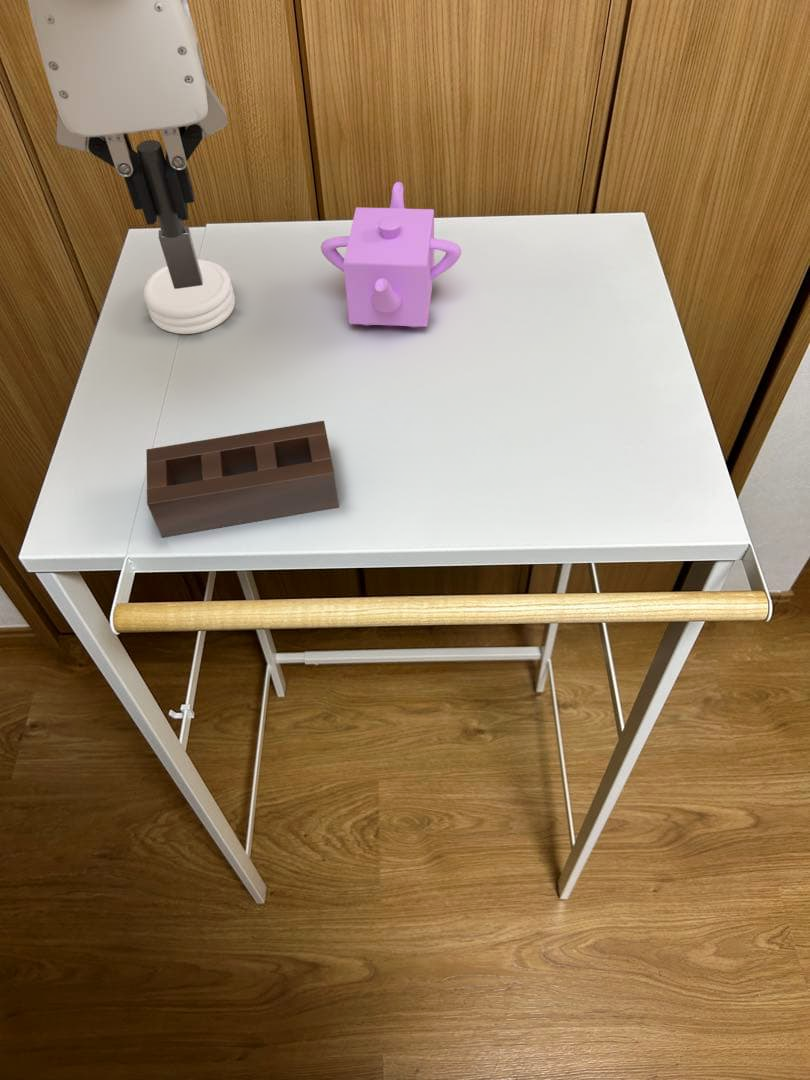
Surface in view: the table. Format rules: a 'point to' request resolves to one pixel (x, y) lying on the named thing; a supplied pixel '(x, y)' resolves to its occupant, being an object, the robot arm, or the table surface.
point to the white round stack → (190, 300)
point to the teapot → (390, 263)
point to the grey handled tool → (169, 219)
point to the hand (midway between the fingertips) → (167, 211)
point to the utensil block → (240, 479)
